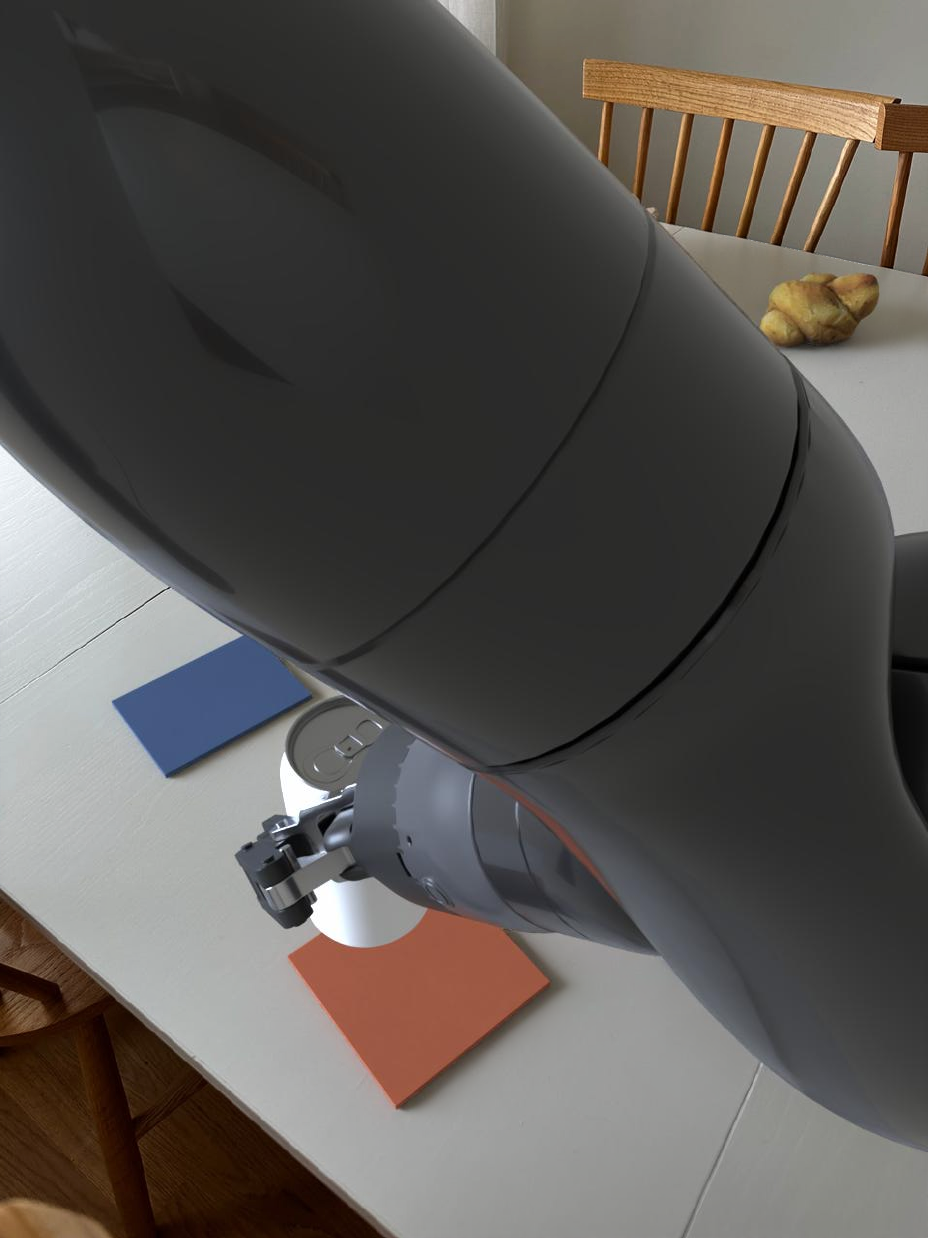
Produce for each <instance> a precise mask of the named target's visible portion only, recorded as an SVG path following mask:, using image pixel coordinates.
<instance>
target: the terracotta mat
mask: <svg viewBox="0 0 928 1238" xmlns="http://www.w3.org/2000/svg"><path fill="white" fill-rule="evenodd" d="M286 958H287V960H288V962H289V963H290V965H291V966H292V968H294V970H295V971H296V973H297V974H298V976H299V978H301V980H302V981H303V983H304V984H305V985H306V986H307V988H308V989H309V992H311V993H312V996H314V998H315V999H316V1001H317V1003H319V1005H320V1006H321V1007H322V1009H323V1010H324V1012H325V1013H326V1014H327V1016H328V1017H329V1019H330V1020H331V1021H332V1022H333V1024H334V1026H335V1027H336V1029H337V1030H338V1031H339V1032H340V1034H341V1035H342V1036H343V1038H344V1039H345V1041H346V1042H347V1043H348V1045H349V1046H350V1048H351V1049H352V1050H353V1052H354V1053H355V1055H356V1056H357V1057H358V1058H359V1061H361V1063H362V1064H363V1066H364V1067H365V1068H366V1070H367V1071H368V1072H369V1074H370V1075H371V1077H372V1078H373V1080H374V1081H375V1083H376V1084H377V1086H379V1088H380V1089H381V1091H382V1092H383V1093H384V1095H385V1096H386V1097H387V1099H388V1100H389V1102H390V1103H391V1104H392V1106H393V1107H394V1109H395V1110H398V1109H400V1108H401V1107H402V1106H403V1105H404V1104H405V1103H407V1102H408V1101H409V1100H411V1099H412V1098H413V1097H414V1096H416V1095H417V1094H418V1093H419V1092H420V1091H421V1090H423V1089H424V1088H425V1087H427V1085H429V1084H430V1083H431V1082H433V1081H434V1080H435V1079H436V1078H437V1077H439V1076H440V1075H441V1074H442V1073H443V1072H445V1071H446V1070H447V1069H448V1068H450V1067H451V1066H452V1065H453V1064H455V1063H456V1062H457V1061H458V1060H460V1059H461V1058H462V1057H463V1056H464V1055H466V1054H467V1053H468V1052H470V1051H471V1050H472V1049H473V1048H474V1047H476V1046H477V1045H478V1044H479V1043H480V1042H481V1041H483V1040H484V1039H485V1038H487V1036H489V1035H490V1034H491V1033H492V1032H494V1031H495V1030H496V1029H497V1028H499V1027H500V1026H501V1025H503V1024H504V1023H505V1022H506V1021H507V1020H508V1019H510V1018H511V1017H512V1016H513V1015H515V1014H516V1013H517V1012H518V1011H520V1009H522V1008H524V1006H526V1005H527V1004H528V1003H530V1002H531V1001H532V1000H533V999H535V998H536V997H538V995H539V994H541V993H542V992H543V991H544V990H546V988H548V987H549V986H550V985H551V980H549V978H548V977H547V976H546V975H545V974H544V973H543V972H542V970H541V969H539V968H538V967H537V965H536V964H535V963H534V962H533V961H532V960H531V959H530V958H529V956H528V955H527V954H526V953H525V952H524V951H523V950H522V948H520V947H519V945H517V943H516V942H514V940H513V939H512V938H511V937H510V936H509V935H508V934H507V933H506V932H505V930H504V929H503V928H500V927H496V926H493V925H489V924H485V923H482V922H478V921H474V920H470V919H467V918H463V917H459V916H456V915H452V914H448V913H444V912H441V911H437V910H433V909H429V908H428V909H427V911H426V913H425V914H424V916H423V918H422V919H421V920H420V922H419V923H418V924H417V925H416V926H415V927H414V928H413V929H412V930H411V931H410V932H409V933H407V934H406V935H404V936H403V937H401V938H399V939H398V940H395V941H393V942H391V943H388V944H385V945H381V946H377V947H367V948H361V947H352V946H348V945H344V944H342V943H339V942H337V941H335V940H333V939H331V938H330V937H328V936H326V935H325V934H324V933H322V932H321V933H319V934H318V935H316V936H315V937H313V938H312V939H310V940H309V941H307V942H305V943H304V944H303V945H302V946H300V947H298V948H296V949H295V950H294V951H292V952H291V953H290V954H288V955H287V957H286Z"/></svg>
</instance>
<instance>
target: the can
mask: <svg viewBox="0 0 928 1238" xmlns="http://www.w3.org/2000/svg"><path fill="white" fill-rule="evenodd" d="M390 724H391V723H389V722H388V721H386V720H384V719H383V718H381V717H379V716H378V715H376V714H374V713H373V712H371V711H369V710H368V709H366V708H364V707H363V706H361V705H359V704H358V703H356V702H354V701H353V700H351V699H349V698H348V697H346V696H344V695H343V694H340V695H339V694H338V695H336V696H332V697H331V696H330V697H327V698H326V699H322V700H320V701H319V702H317V703H315V704H313V705H311V706H309V707H308V708H307V709H306V710H305V709H304V711H303V712H301V714H300V715H299V716H298V717H297V718H296V719H295V720H294V721H293V723H292V724H291V725H290V728H289V729H288V732H287V734H286V737H285V742H284V752H283V755H282V758H281V762H280V769H279V770H280V771H279V772H280V775H279V776H280V784H281V790H282V795H283V796H282V797H283V802H284V806H285V811H286V815H287V816H295V817H296V816H298V815H299V812H300V810H301V809H303V808H304V807H305V806H307V805H308V804H309V803H311V802H312V801H313V800H315V799H316V798H317V797H319V796H321V795H323V794H326V793H329V792H332V791H335V790H338V789H340V788H343V787H346V786H348V785H350V784H351V783H352V782H354V781H355V780H356V779H357V778H358V774H359V771H360V768H361V765H362V763H363V761H364V758H365V756H366V754H367V753H368V751H369V749H370V747H371V746H372V744H373V743H374V741H375V740H376V739H377V738H378V736H379V735H380V734H381V733H382V732H383V731H384V730H385V729H386V728H387V727H388V726H389V725H390ZM341 810H342V809H339V810H336V811H335V813H336V815H338V814H339V812H340V811H341ZM305 836H306V838H307V840H308V842H309V844H310V846H311V848H312V849H313V851H314V853H315V854H316V853H317V851H316V849H315V847H314V845H313V843H312V841H311V839H310V838H309V836H308V835H306V834H305ZM314 892H315V894H316V896H317V898H318V900H317V902H316V903H315V904H313V905H311V907H312V908H313V910H314V913H313V914H312V915H311V916H310V917H309V918H310V919H311V921H312V924H314V926H315V927H316V928H317V929H318V931H320V932H321V933H324V934H325V935H326V936H328V937H330V938H331V939H333V940H335V941H337V942H339V943H342V944H344V945H348V946H352V947H361V948H367V947H377V946H381V945H385V944H388V943H391V942H393V941H395V940H398V939H399V938H401V937H403V936H404V935H406V934H407V933H409V932H410V931H411V930H412V929H413V928H414V927H415V926H416V925H417V924H418V923H419V922H420V920H421V919H422V918H423V916H424V914H425V913H426V911H427V909H428V908H426V907H422V906H419V905H416V904H414V903H412V902H409V901H407V900H406V899H404V898H402V897H400V896H399V895H397V894H396V893H394V892H393V891H391V890H390V889H388V888H387V887H386V886H385V885H383V884H382V883H381V882H379V881H378V880H377V879H375V878H374V877H371V878H366V879H363V880H359V881H345V882H342V883H337V882H334V881H333V880H332V879H331V880H329V881H328V882H326V883H325V884H323V885H321V886H320V887H318V888H316V889H315V890H314Z"/></svg>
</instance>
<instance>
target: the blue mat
mask: <svg viewBox="0 0 928 1238" xmlns="http://www.w3.org/2000/svg"><path fill="white" fill-rule="evenodd" d="M311 699H313V694H312V693H311V691H309V690H308V689H307V687H306V686H305V685H304V684H303V683H302V682H301V681H300V680H299V679H298V678H297V677H296V676H295V675H294V674H293V673H292V671H291V670H289V668H288V667H287V666H286V665H285V664H284V663H283V662H282V661H281V660H280V658H279V657H278V656H276V655H275V654H273V653H271V652H270V651H268V650H267V649H265V648H263V647H262V646H260V645H258V644H257V643H255V642H253V641H252V640H250V639H248V638H247V637H245V636H244V635H240V636H239V637H237V638H235V639H233V640H232V641H229V642H227V643H225V644H223V645H221V646H219V647H217V648H215V649H213V650H211V651H209V652H207V653H204V654H203V655H201V656H199V657H197V658H195V659H193V660H191V661H189V662H187V663H185V664H183V665H180V666H179V667H176V668H175V669H173V670H171V671H168V672H167V673H165V674H163V675H160V676H159V677H157V678H155V679H153V680H151V681H149V682H147V683H145V684H143V685H140V686H139V687H137V688H134V689H133V690H130V691H128V692H127V693H125V694H123V695H120V696H118V697H117V698H115V699H113V700H111V704H112V706H113V708H114V709H115V710H116V711H117V713H118V714H119V716H120V717H121V719H122V720H123V721H124V722H125V724H126V725H127V726H128V728H129V729H130V731H131V732H132V734H133V735H134V736H135V738H136V739H137V740H138V742H139V743H140V744H141V745H142V747H143V748H144V750H145V751H146V753H147V754H148V756H150V758H151V759H152V761H153V762H154V764H155V765H156V766H157V768H158V769H159V771H161V773H162V774H163V776H164V777H165V779H168V778H170V777H171V776H173V775H175V774H178V773H179V772H180V771H182V770H184V769H186V768H188V767H190V766H191V765H193V764H195V763H197V762H199V761H200V760H202V759H204V758H206V757H208V756H209V755H212V754H213V753H215V752H217V751H218V750H221V749H222V748H224V747H226V746H227V745H230V744H231V743H233V742H235V741H236V740H239V739H241V738H242V737H244V736H246V735H248V734H249V733H251V732H253V731H255V730H256V729H258V728H260V727H262V726H263V725H266V724H267V723H269V722H272V721H273V720H274V719H276V718H278V717H280V716H282V715H284V714H286V713H287V712H289V711H291V710H293V709H294V708H296V707H298V706H301V705H302V704H303V703H306V702H307V701H309V700H311Z"/></svg>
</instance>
